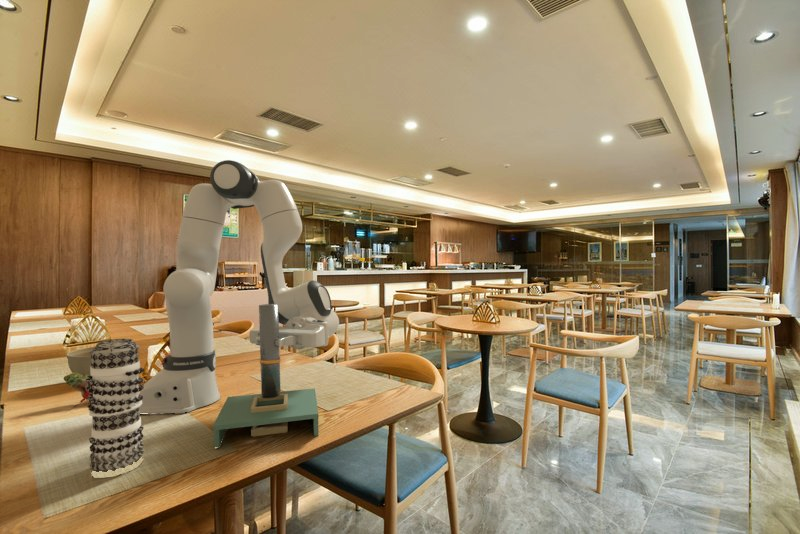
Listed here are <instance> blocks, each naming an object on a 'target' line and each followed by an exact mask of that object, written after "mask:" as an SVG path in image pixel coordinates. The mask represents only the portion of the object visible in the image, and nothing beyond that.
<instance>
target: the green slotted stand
mask: <svg viewBox="0 0 800 534" xmlns="http://www.w3.org/2000/svg"><path fill="white" fill-rule="evenodd" d="M318 407H319V406H318V401H317V394H316V388H315V387H314V388H305V389H296V390H295V389H294V390H287V391H286V390H285V391H284V390H283V391H281V394H280V395H279V396H277V397H274V398H263V397H262V394H261V393H256V394H255V393H254V394H244V395H243V394H242V395H235V396H227V398H226V399H225V402H224V403H223V406H222V408H221V410H220V411H219V413H218V415H217V416H216V419H215V420H214V423H213V425H212V431H213V448H214V447H219V446H220V444H221V445H222V443H221V441H222V439H223V437H224V438H225V436H226V434H227V432H226V430H227V431H228V430H229V429H236V428H237V429H238V428H246V427H251V429H250V436H253V437H261V436H267V435H276V434H283V433H284V434H286V433H288V427H289V426H288V425H289V422H296V421H297V422H298V421H304V420H312V429H313V436H314V437H319V435H320V434H319V433H320V432H319V431H320V430H319V408H318ZM279 423H280V425H271V424H279ZM281 423H283V424H281ZM263 425H270V426H264V427H258V426H263ZM225 433H226V434H225ZM224 435H225V436H224ZM223 440H224V439H223ZM222 442H223V441H222ZM220 447H221V446H220Z"/></svg>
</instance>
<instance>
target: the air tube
mask: <svg viewBox="0 0 800 534" xmlns="http://www.w3.org/2000/svg"><path fill="white" fill-rule="evenodd" d="M258 317H259V319H258V322H259V328H260V345H259V349H260V350H259V352H260V353H259V354H260V355H259V356H260V357H259V365H260V386H261V388H260V389H261V393H260V394H262V397H263V398H274V397H277V396H279V395H280V394H281V392H282V391H281V367H280V366H281V363H280V362H281V356H280V347H277V346H275V340H276V339H278V338H279V326H280V323H279V319H278V304H268V303H266V304H259V305H258Z"/></svg>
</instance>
